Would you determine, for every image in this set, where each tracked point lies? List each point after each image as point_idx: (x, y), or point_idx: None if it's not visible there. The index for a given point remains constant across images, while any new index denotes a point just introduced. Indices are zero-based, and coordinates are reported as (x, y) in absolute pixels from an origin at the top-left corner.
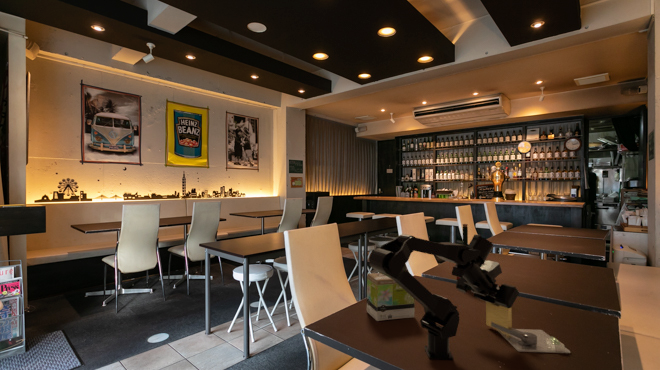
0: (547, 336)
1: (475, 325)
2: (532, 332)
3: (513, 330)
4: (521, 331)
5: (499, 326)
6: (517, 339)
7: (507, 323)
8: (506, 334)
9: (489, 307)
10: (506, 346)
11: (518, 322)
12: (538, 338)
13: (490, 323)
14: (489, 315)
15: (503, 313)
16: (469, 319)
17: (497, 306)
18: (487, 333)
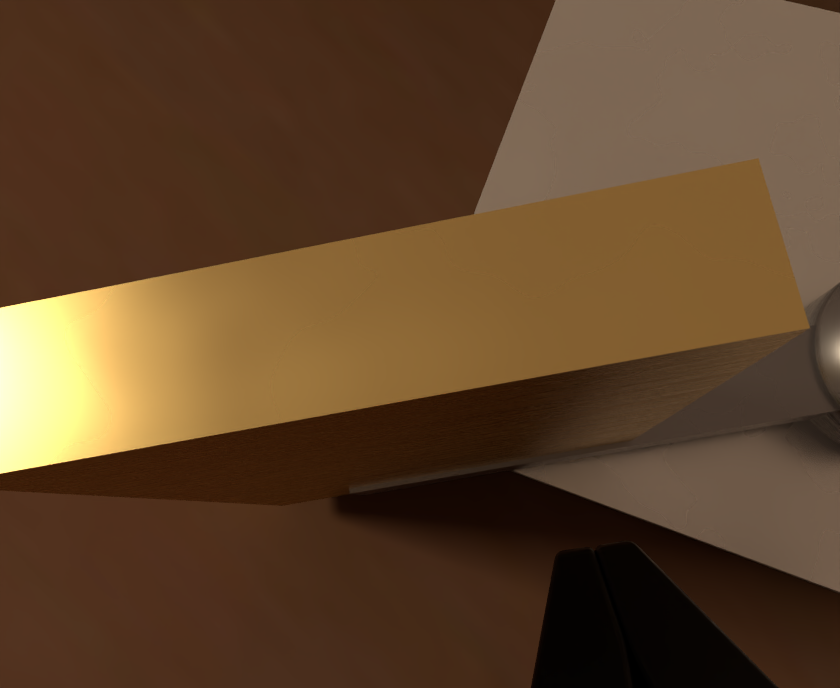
0: (742, 22)
1: (185, 589)
2: (610, 98)
3: (697, 411)
4: (552, 197)
5: (489, 470)
6: None
7: (631, 435)
8: None
9: (248, 487)
10: (830, 685)
11: (297, 19)
12: (771, 158)
13: (338, 491)
14: (293, 492)
15: (569, 429)
16: (11, 522)
17: (425, 443)
18: (435, 623)
